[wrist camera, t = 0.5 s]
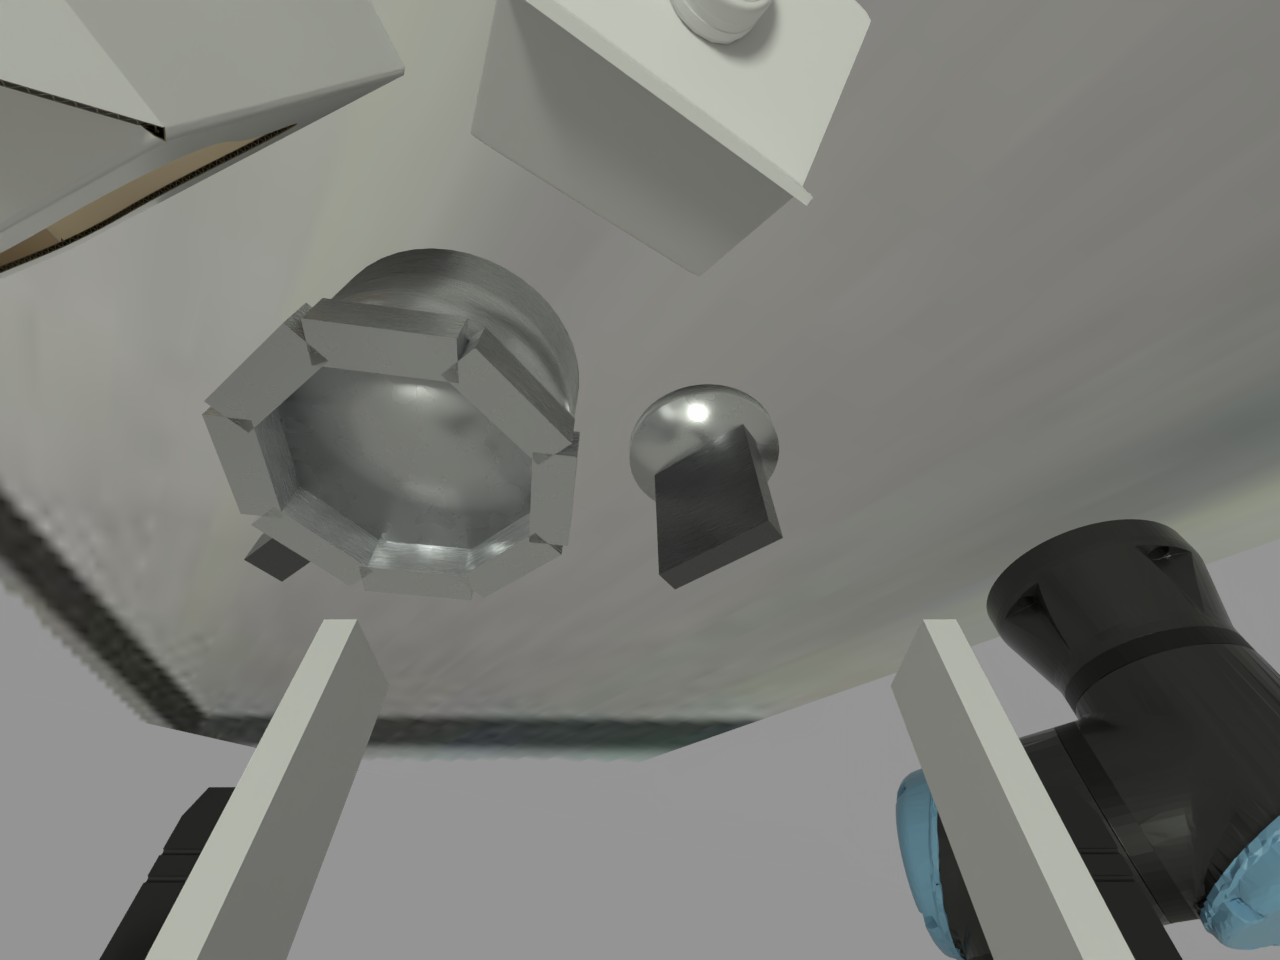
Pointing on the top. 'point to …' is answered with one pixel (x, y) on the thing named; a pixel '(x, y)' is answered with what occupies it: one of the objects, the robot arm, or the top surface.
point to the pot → (407, 430)
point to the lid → (706, 478)
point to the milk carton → (668, 108)
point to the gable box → (159, 101)
